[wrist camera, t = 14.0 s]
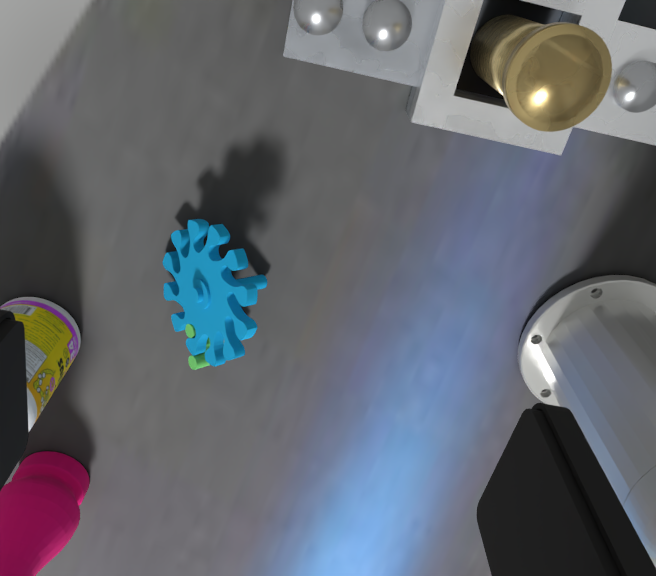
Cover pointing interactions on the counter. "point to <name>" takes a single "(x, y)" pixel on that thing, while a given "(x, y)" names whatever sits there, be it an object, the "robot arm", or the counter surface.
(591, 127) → the white studded link plate
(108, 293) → the counter surface
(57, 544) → the pepper mill
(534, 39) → the pin
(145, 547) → the counter surface
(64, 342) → the supplement bottle
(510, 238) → the counter surface
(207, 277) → the gear
